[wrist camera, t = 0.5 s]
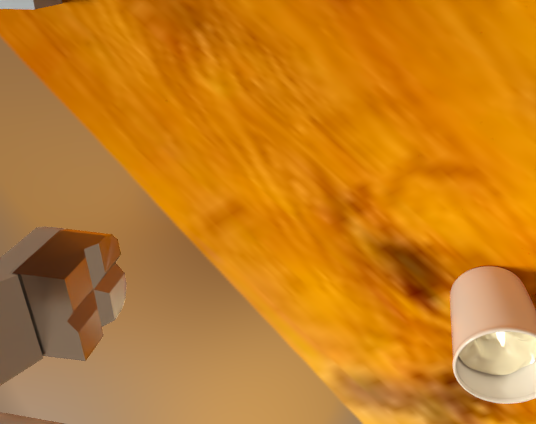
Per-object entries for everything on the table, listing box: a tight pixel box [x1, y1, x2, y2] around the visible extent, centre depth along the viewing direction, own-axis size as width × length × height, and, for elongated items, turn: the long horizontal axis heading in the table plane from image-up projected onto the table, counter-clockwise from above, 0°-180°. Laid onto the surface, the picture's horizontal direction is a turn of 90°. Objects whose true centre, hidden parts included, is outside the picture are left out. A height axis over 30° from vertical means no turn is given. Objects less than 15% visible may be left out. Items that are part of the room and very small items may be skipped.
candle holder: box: [450, 266, 536, 404], centre depth 56 cm, size 10×10×12 cm
